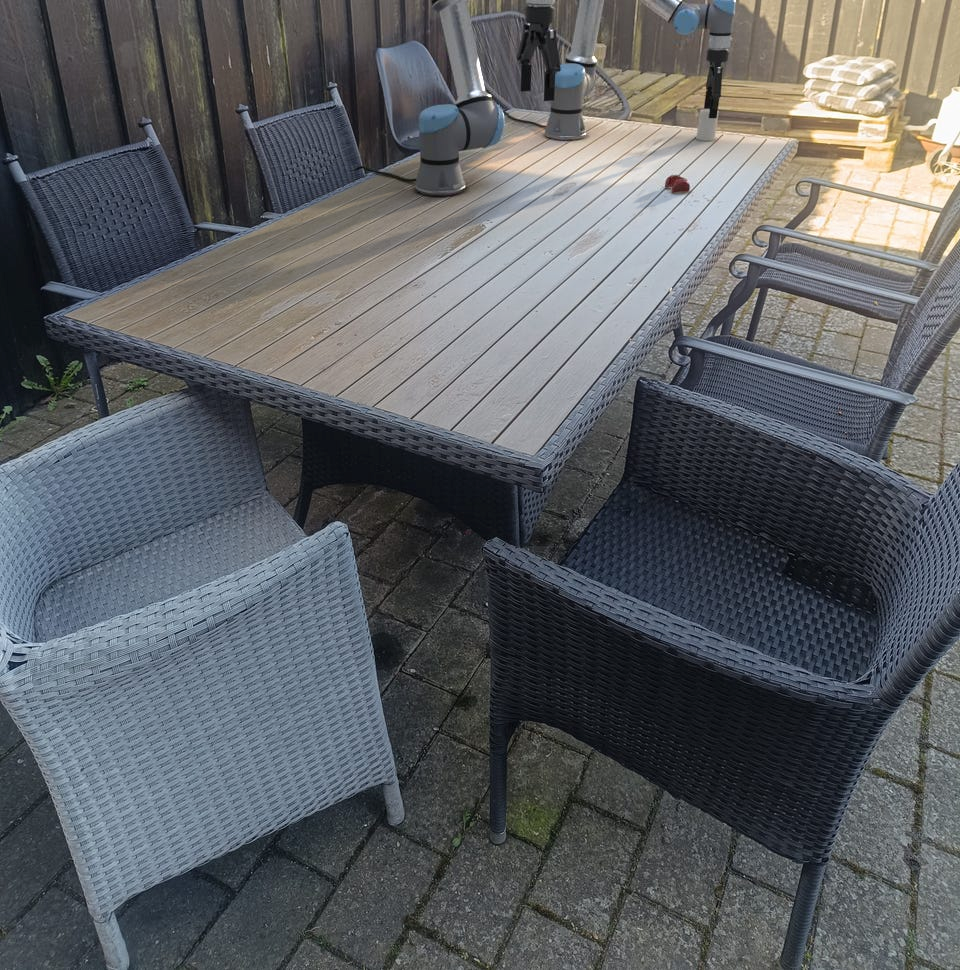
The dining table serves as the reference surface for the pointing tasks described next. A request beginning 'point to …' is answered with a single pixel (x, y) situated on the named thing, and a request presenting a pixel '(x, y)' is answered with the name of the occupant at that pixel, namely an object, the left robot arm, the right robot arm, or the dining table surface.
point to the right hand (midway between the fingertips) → (710, 114)
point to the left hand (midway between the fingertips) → (537, 95)
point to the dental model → (677, 183)
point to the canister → (706, 126)
